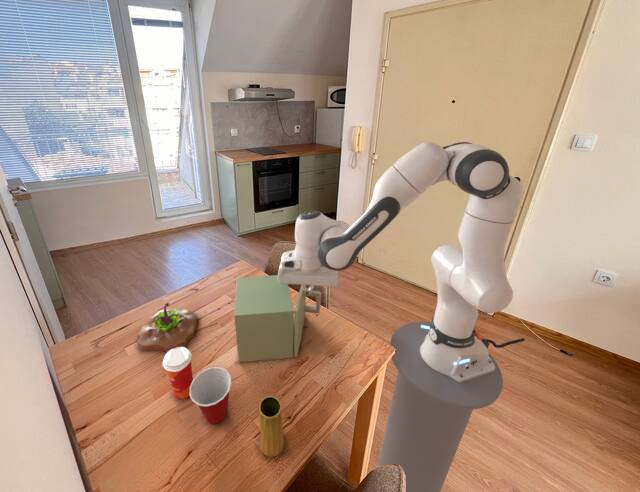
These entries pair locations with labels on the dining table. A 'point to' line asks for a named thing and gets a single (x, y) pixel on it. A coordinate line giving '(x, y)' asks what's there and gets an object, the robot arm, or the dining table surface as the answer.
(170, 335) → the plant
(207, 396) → the plastic cup
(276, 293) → the cupboard
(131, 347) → the dining table surface
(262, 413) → the vase
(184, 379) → the paper cup
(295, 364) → the dining table surface
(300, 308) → the cupboard door
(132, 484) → the dining table surface
